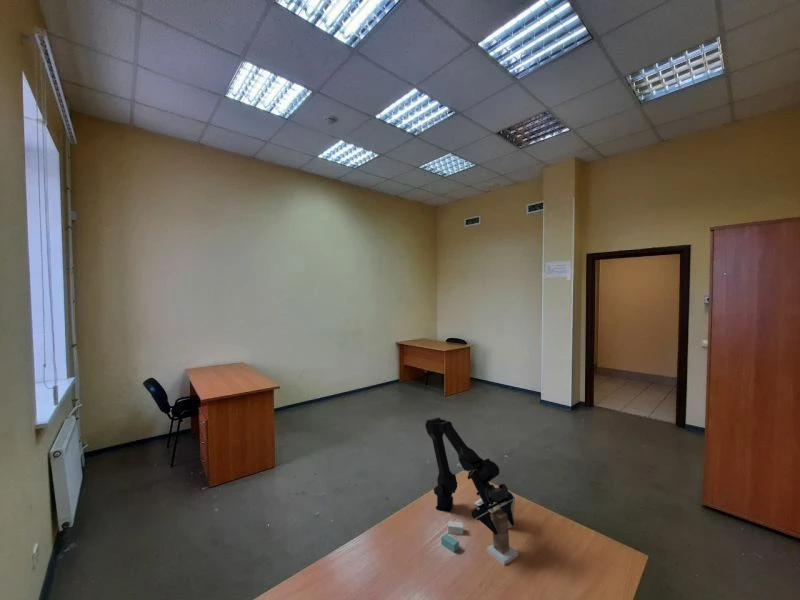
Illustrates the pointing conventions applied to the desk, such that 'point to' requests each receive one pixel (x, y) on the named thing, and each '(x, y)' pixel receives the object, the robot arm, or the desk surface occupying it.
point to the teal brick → (450, 543)
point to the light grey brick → (455, 528)
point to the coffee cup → (511, 508)
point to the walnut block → (500, 531)
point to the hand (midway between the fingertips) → (505, 529)
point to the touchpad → (482, 503)
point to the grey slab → (503, 557)
